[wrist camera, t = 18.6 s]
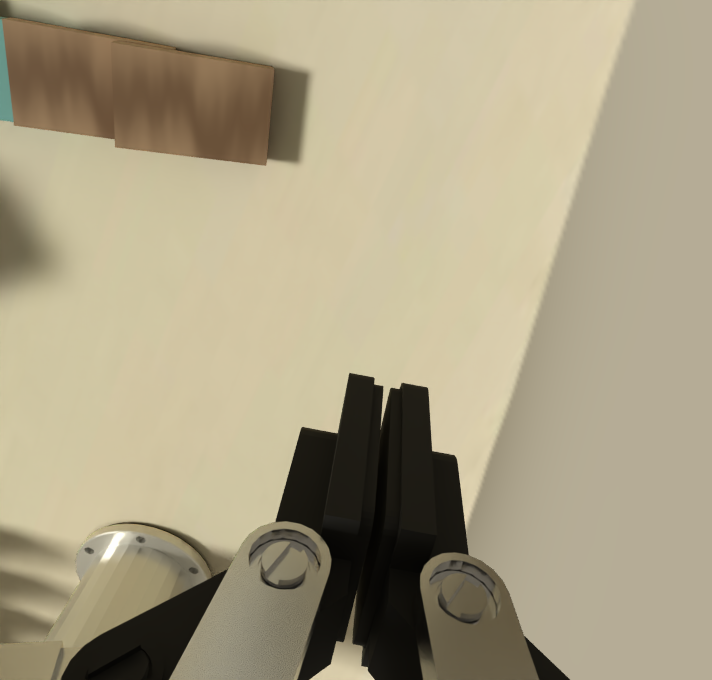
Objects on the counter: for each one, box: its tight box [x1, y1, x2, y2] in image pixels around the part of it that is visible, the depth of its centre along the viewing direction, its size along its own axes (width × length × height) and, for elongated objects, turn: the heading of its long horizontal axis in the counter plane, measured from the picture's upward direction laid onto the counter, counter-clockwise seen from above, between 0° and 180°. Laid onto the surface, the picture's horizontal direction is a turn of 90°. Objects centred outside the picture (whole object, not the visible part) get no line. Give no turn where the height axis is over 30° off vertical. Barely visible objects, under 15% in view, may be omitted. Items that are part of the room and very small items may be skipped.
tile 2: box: [2, 18, 176, 139], centre depth 30 cm, size 5×2×8 cm
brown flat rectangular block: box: [111, 40, 275, 166], centre depth 30 cm, size 5×2×8 cm
